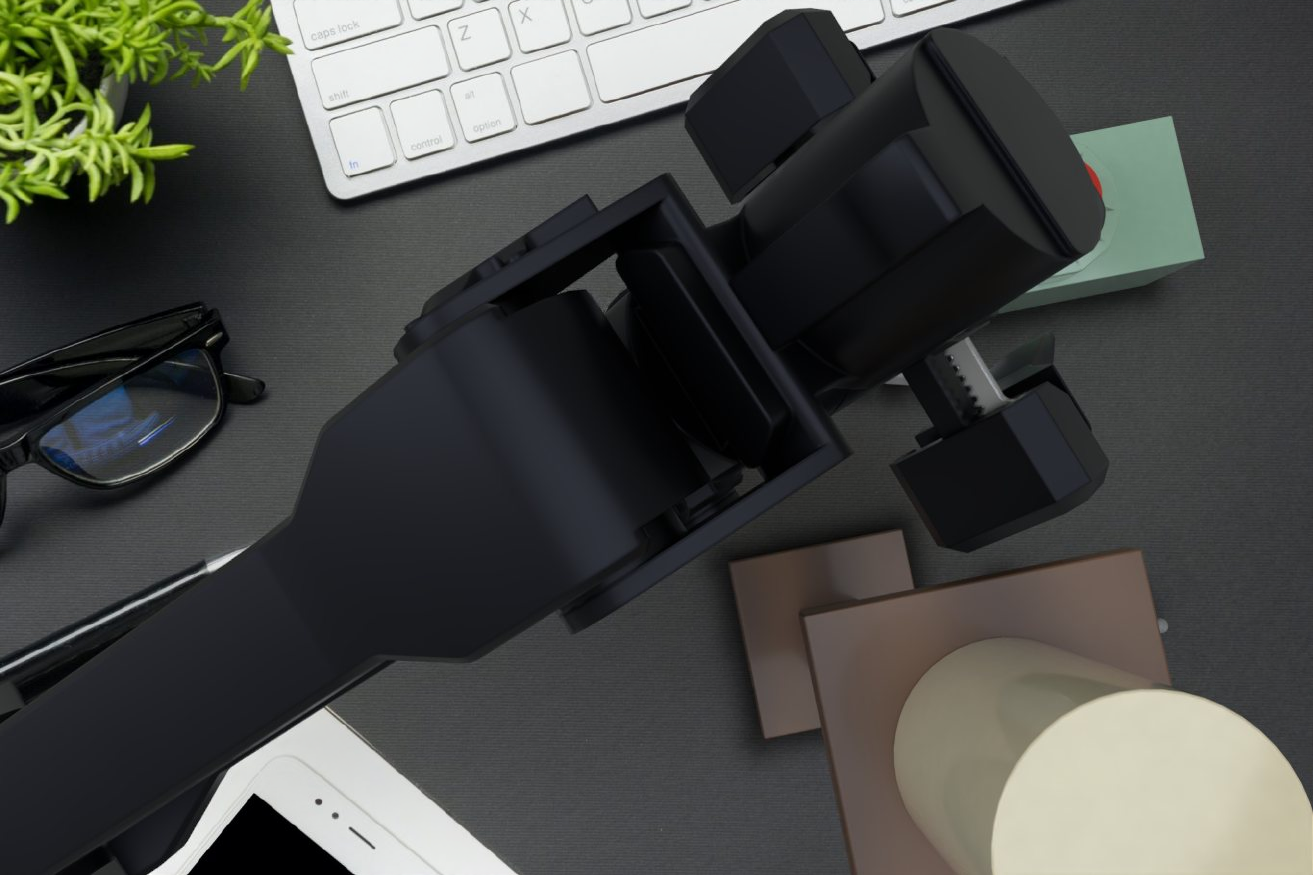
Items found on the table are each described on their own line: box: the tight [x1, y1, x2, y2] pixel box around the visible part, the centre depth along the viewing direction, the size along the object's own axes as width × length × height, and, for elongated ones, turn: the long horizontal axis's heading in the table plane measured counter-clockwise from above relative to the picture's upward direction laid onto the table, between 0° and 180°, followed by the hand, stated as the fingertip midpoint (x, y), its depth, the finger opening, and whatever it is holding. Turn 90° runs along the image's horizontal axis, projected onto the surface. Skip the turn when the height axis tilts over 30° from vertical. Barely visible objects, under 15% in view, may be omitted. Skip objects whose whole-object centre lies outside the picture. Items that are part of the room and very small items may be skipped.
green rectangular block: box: [997, 115, 1206, 315], centre depth 53 cm, size 11×7×8 cm, turn 101°
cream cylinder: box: [894, 637, 1313, 875], centre depth 23 cm, size 6×6×8 cm
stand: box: [727, 528, 1173, 875], centre depth 41 cm, size 9×9×28 cm
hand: (981, 240), depth 43 cm, fingers open, 9 cm apart
